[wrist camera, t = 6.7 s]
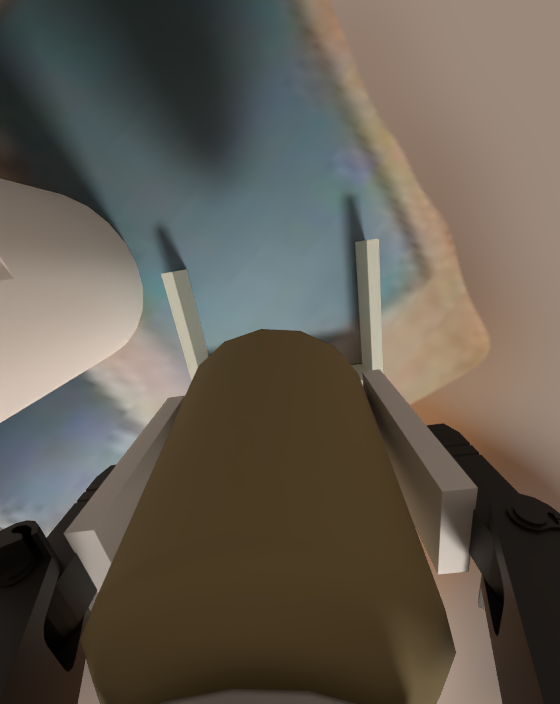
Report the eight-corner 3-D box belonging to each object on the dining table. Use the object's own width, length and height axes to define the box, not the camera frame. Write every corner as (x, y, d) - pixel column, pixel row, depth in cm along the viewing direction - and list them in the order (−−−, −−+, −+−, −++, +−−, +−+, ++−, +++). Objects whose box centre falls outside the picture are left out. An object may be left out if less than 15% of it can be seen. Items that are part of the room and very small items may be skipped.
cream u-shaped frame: (177, 270, 28) (161, 273, 25) (365, 240, 27) (378, 238, 24) (209, 392, 33) (200, 410, 29) (371, 370, 32) (383, 386, 28)
